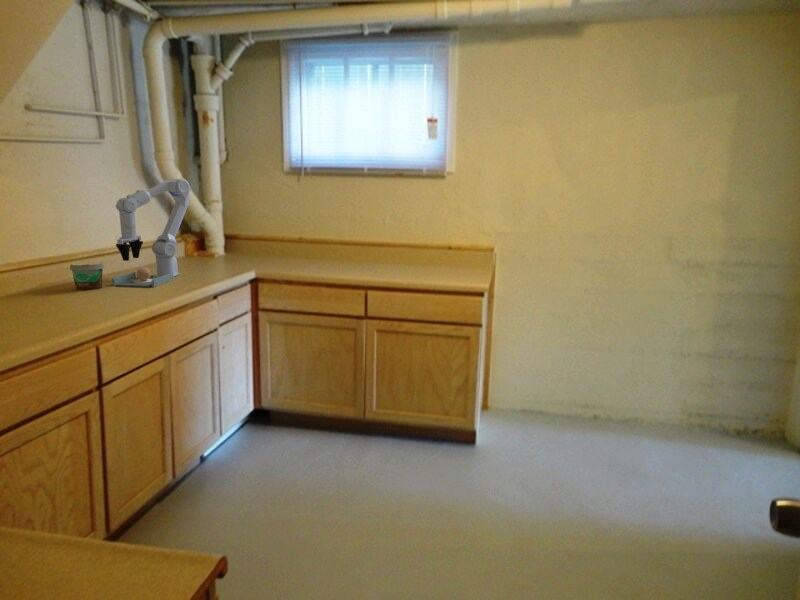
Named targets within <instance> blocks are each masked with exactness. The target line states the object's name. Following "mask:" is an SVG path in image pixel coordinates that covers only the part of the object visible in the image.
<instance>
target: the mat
mask: <svg viewBox="0 0 800 600" xmlns="http://www.w3.org/2000/svg"><path fill="white" fill-rule="evenodd" d="M156 278H158V277H152V276H150V278H149V279H148V280H145V281H142V280H140V279H139V278H138V277H137V276H136V278H134V279H131V280H128V281H125V282H122V283H119V284H116V286H115V287H119V288H120V287H123V288H146V289H147V288H148V289H149V288H152V280H153V279H156Z"/></svg>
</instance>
